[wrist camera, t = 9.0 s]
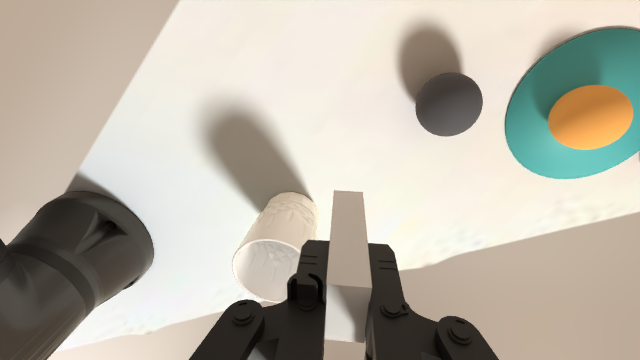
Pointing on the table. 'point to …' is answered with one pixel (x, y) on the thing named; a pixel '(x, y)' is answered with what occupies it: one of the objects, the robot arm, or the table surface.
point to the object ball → (590, 117)
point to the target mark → (562, 77)
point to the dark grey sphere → (449, 104)
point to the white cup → (275, 246)
